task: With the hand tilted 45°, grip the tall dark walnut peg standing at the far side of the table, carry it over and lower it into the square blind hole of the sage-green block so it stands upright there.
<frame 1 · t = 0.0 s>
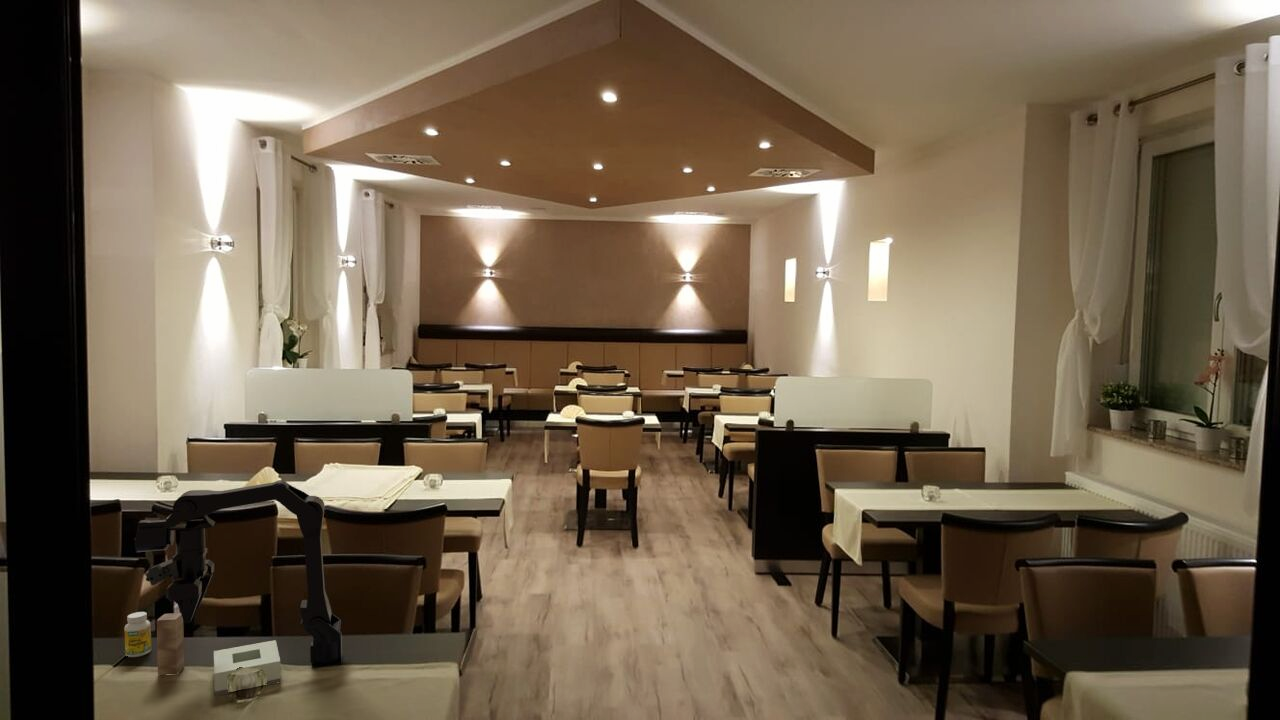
hand: (191, 615, 173), 15 cm above the table, tool pointing down, fingers open, 9 cm apart
socket block: (246, 677, 175), on the table
walnut peg: (171, 671, 177), on the table
supplement bottle: (138, 653, 187), on the table
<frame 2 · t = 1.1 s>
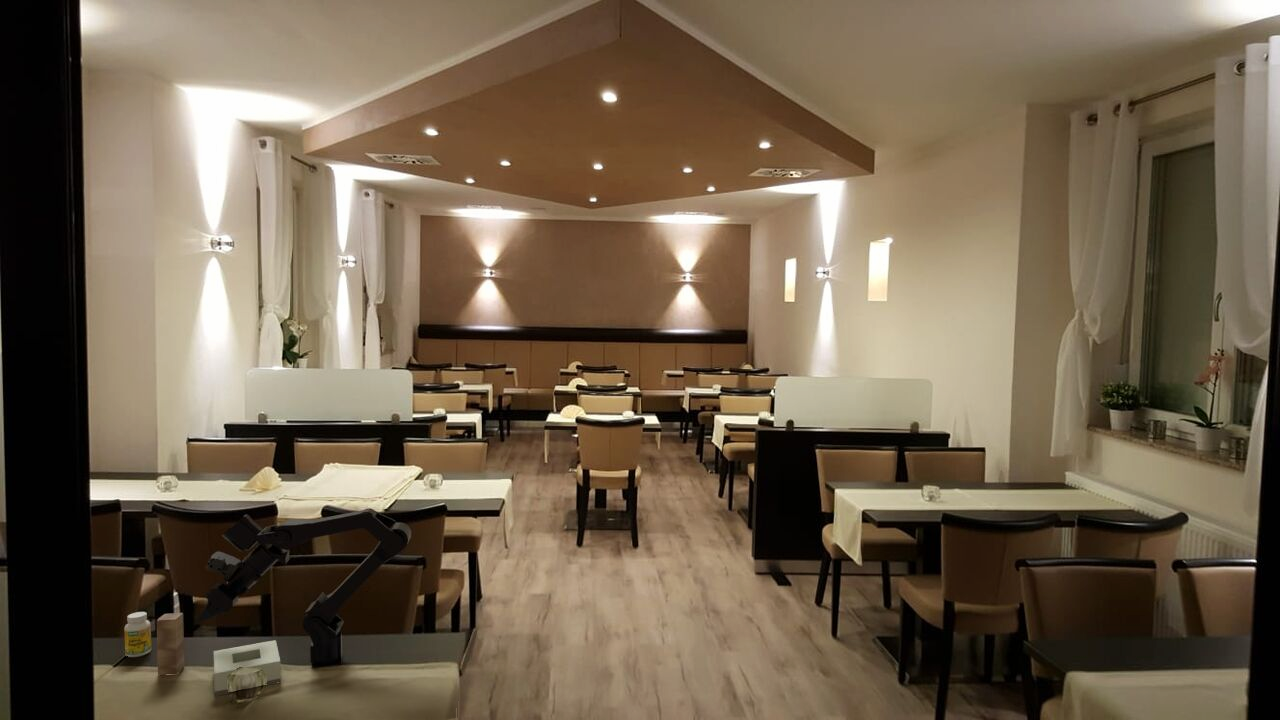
hand: (206, 613, 178), 13 cm above the table, tool tilted 45°, fingers open, 9 cm apart
nothing on the table moved.
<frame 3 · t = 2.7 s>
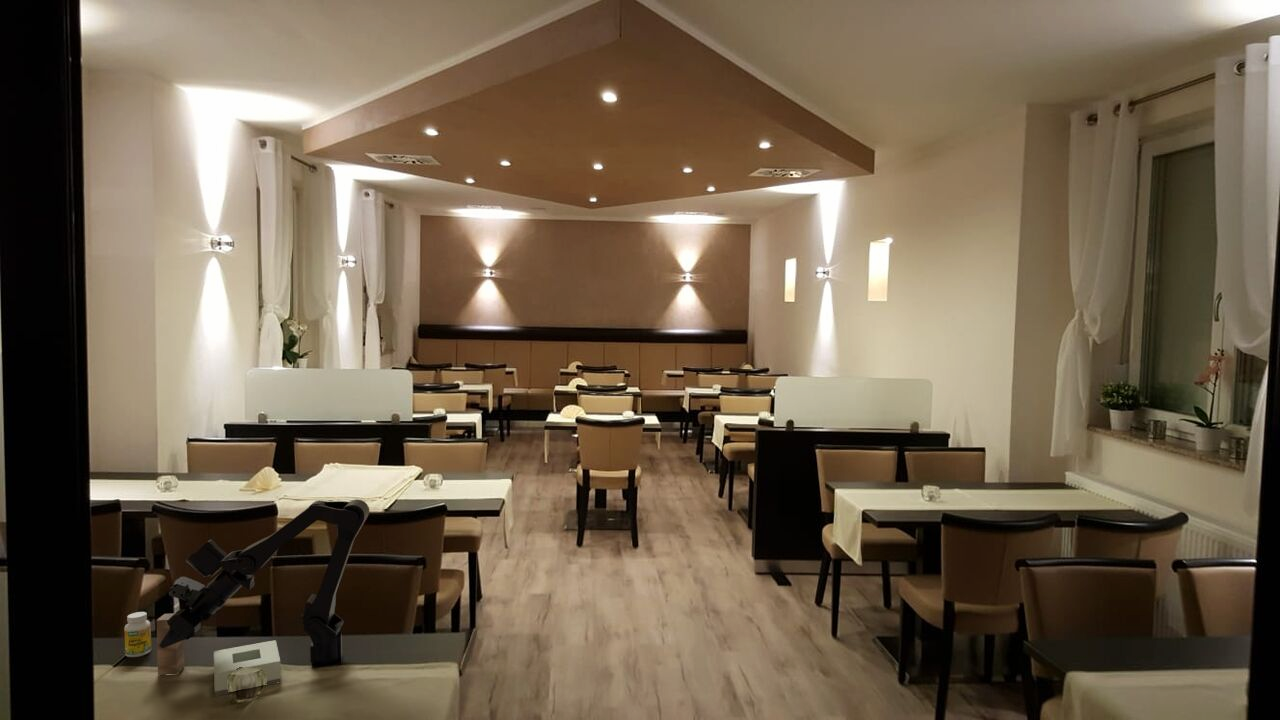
hand: (169, 638, 177), 8 cm above the table, tool tilted 45°, fingers open, 9 cm apart
nothing on the table moved.
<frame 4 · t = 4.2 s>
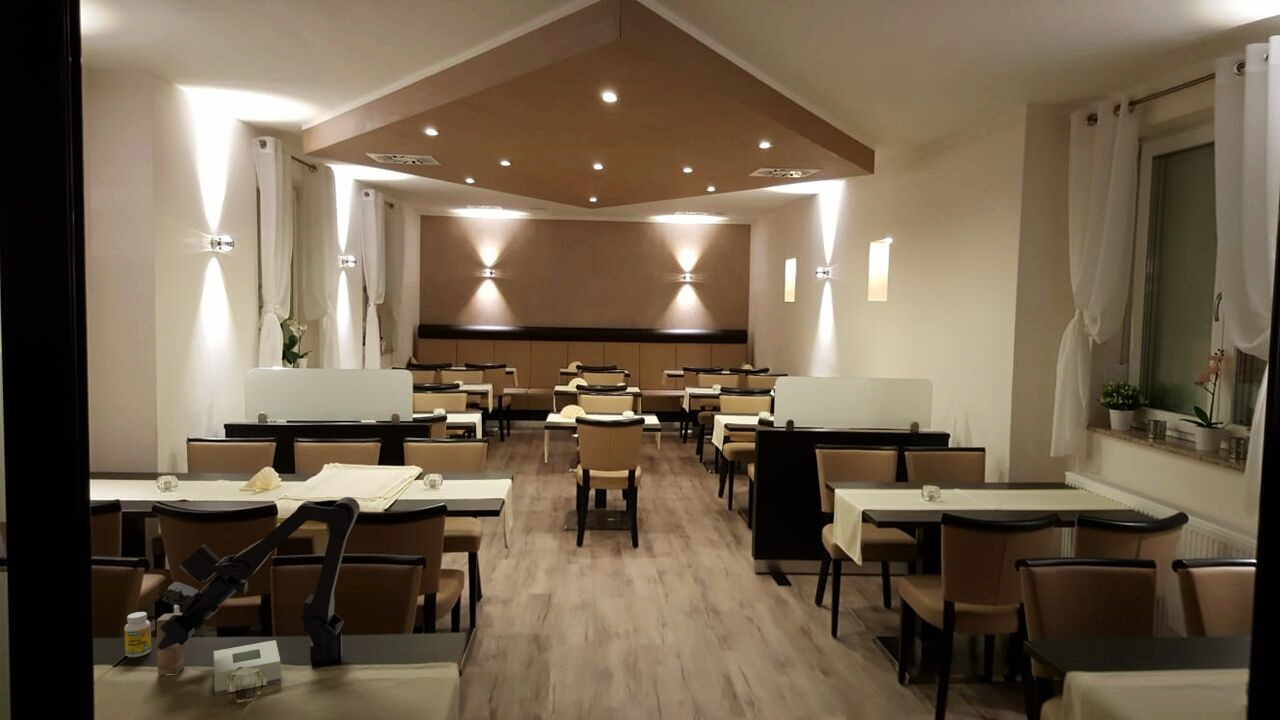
hand: (164, 644, 177), 7 cm above the table, tool tilted 45°, fingers closed on walnut peg, 4 cm apart
walnut peg: (171, 671, 177), on the table, touching gripper
everything else where it was.
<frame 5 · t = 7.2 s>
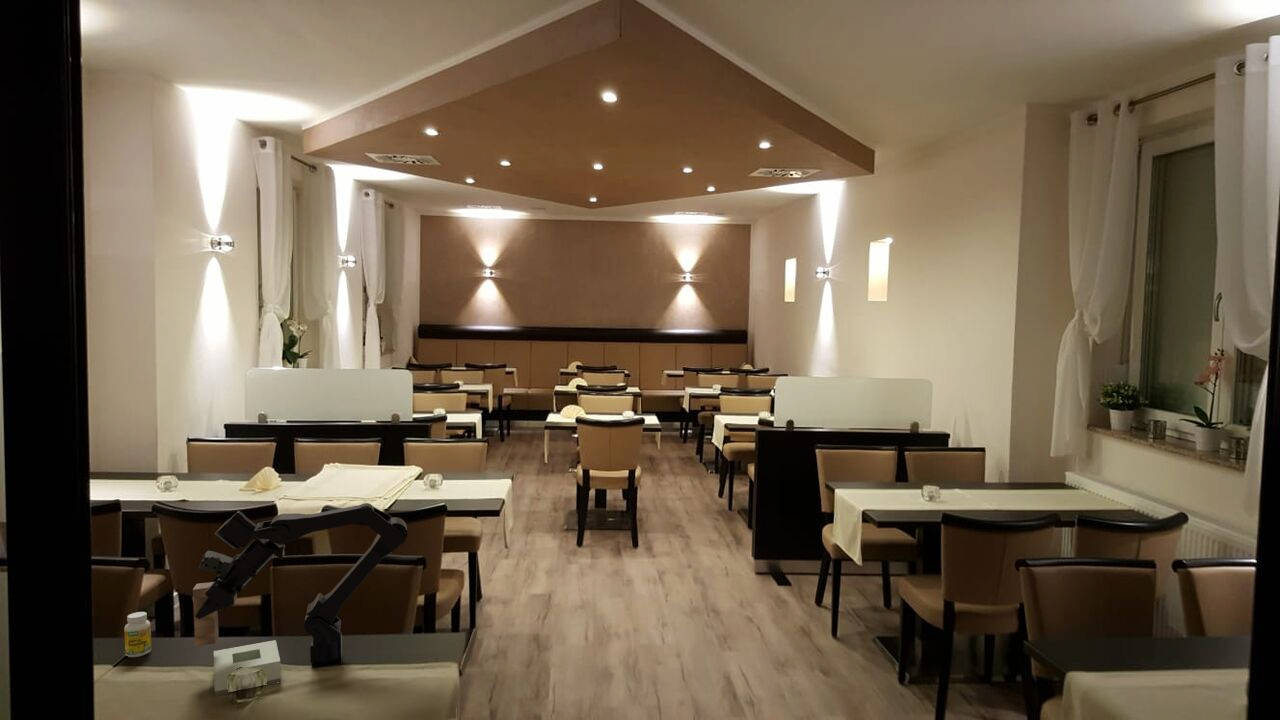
hand: (199, 614, 174), 15 cm above the table, tool tilted 45°, fingers closed on walnut peg, 4 cm apart
walnut peg: (207, 641, 174), point 8 cm above the table, touching gripper
everything else where it was.
when the fingers open (9 cm above the table, at t = 10.0 s): walnut peg stays where it is, resting on socket block.
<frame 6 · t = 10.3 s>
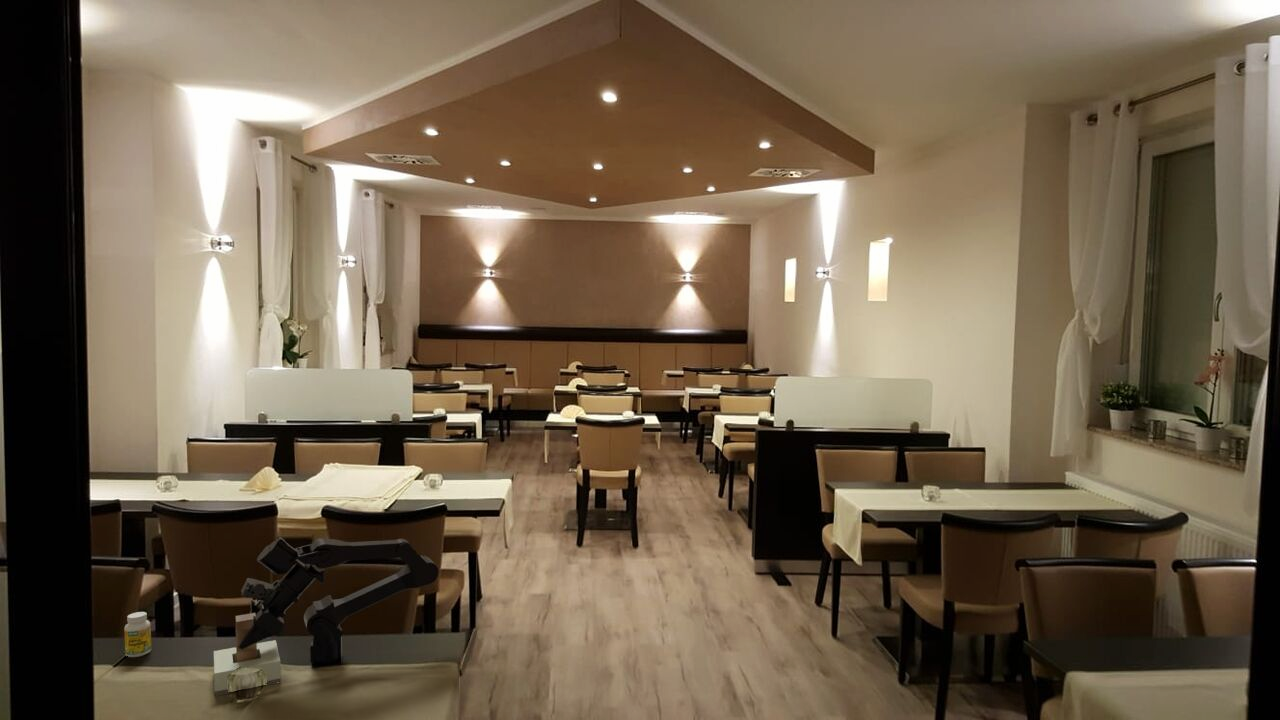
hand: (239, 641, 174), 9 cm above the table, tool tilted 45°, fingers open, 7 cm apart
walnut peg: (246, 673, 175), point 1 cm above the table, touching socket block
everything else where it was.
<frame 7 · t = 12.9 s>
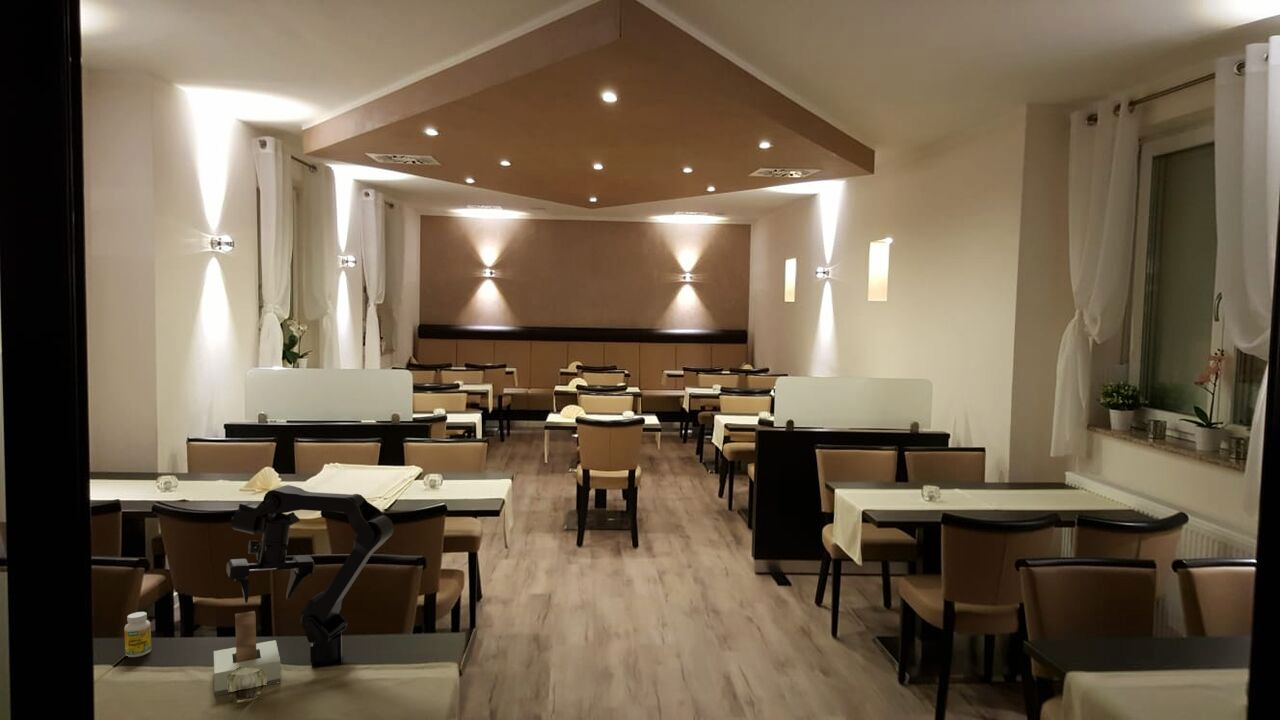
hand: (266, 600, 185), 14 cm above the table, tool pointing down, fingers open, 9 cm apart
walnut peg: (246, 672, 174), point 1 cm above the table, tilted 10°, touching socket block
everything else where it was.
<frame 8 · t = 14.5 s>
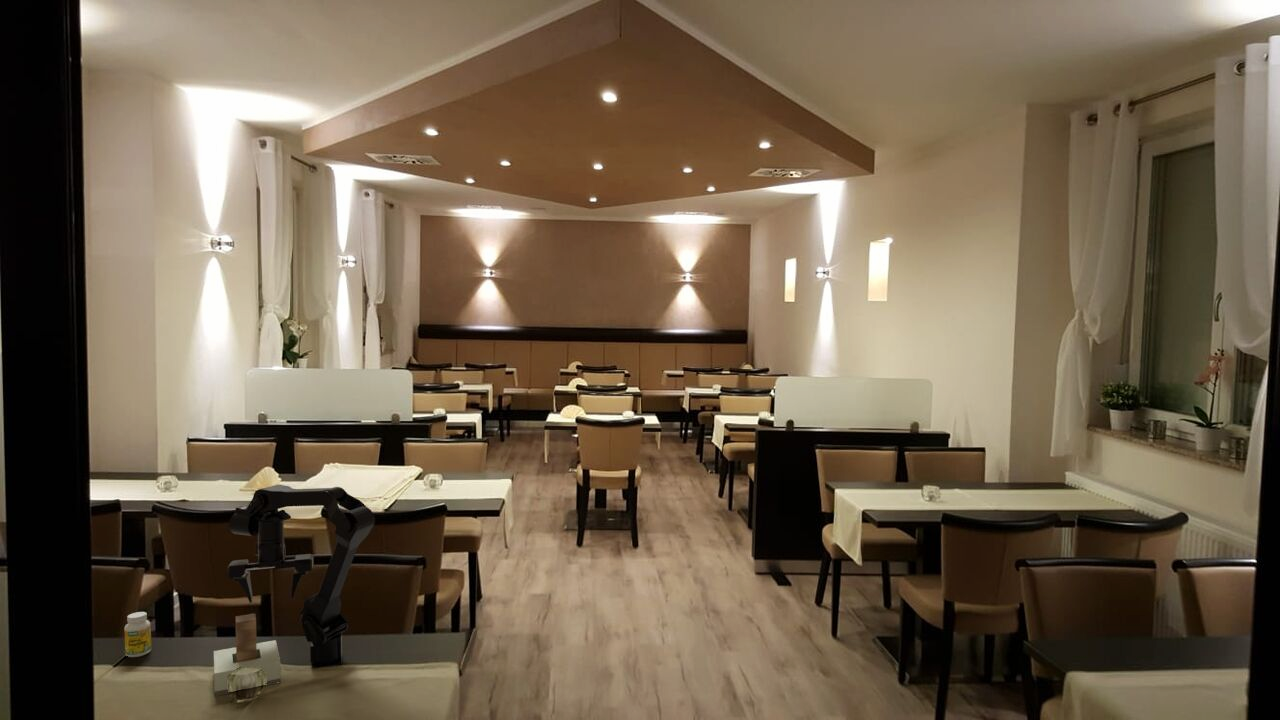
hand: (272, 600, 188), 13 cm above the table, tool pointing down, fingers open, 9 cm apart
walnut peg: (246, 673, 174), point 1 cm above the table, touching socket block
everything else where it was.
at the end: walnut peg 0.4 cm off-centre on the socket block, point 1.0 cm above the socket block's base; walnut peg tilted 0°; the gripper is holding nothing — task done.
